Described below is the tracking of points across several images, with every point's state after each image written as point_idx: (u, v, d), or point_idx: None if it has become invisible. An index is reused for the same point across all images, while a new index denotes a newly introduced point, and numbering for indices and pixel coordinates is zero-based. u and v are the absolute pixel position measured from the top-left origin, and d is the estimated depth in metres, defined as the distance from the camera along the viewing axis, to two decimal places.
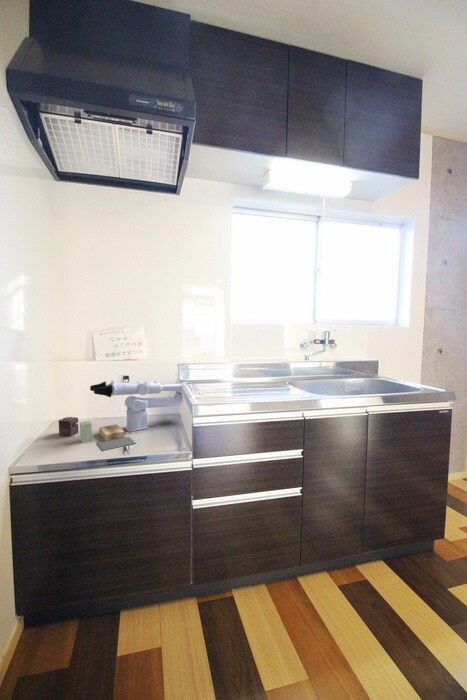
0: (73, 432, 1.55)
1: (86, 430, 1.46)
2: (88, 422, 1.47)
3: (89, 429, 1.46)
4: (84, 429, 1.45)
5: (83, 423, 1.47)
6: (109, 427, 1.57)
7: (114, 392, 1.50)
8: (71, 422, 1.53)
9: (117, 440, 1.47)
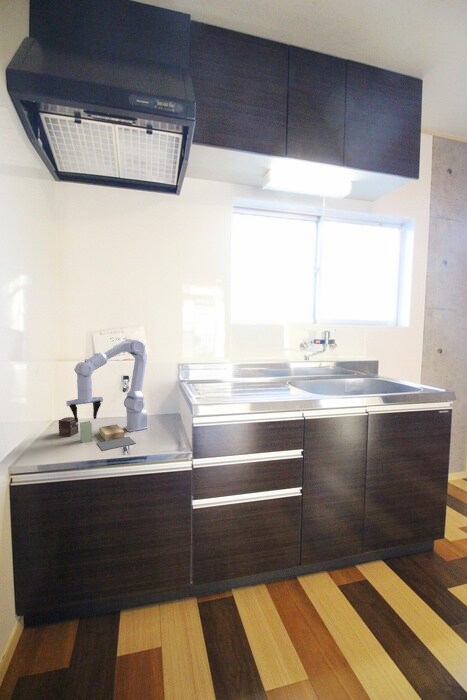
0: (73, 432, 1.55)
1: (86, 430, 1.46)
2: (88, 422, 1.47)
3: (89, 429, 1.46)
4: (84, 429, 1.45)
5: (83, 423, 1.47)
6: (109, 427, 1.57)
7: None
8: (71, 422, 1.53)
9: (117, 440, 1.47)
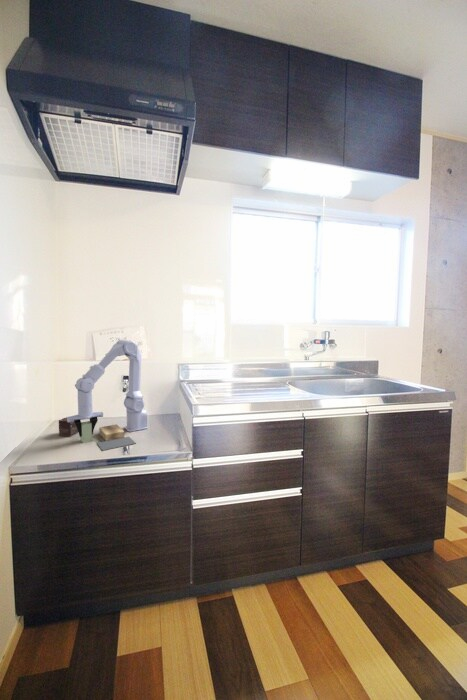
0: (73, 432, 1.55)
1: (86, 430, 1.46)
2: (88, 422, 1.47)
3: (89, 429, 1.46)
4: (84, 429, 1.45)
5: (83, 423, 1.47)
6: (109, 427, 1.57)
7: None
8: (71, 422, 1.53)
9: (117, 440, 1.47)
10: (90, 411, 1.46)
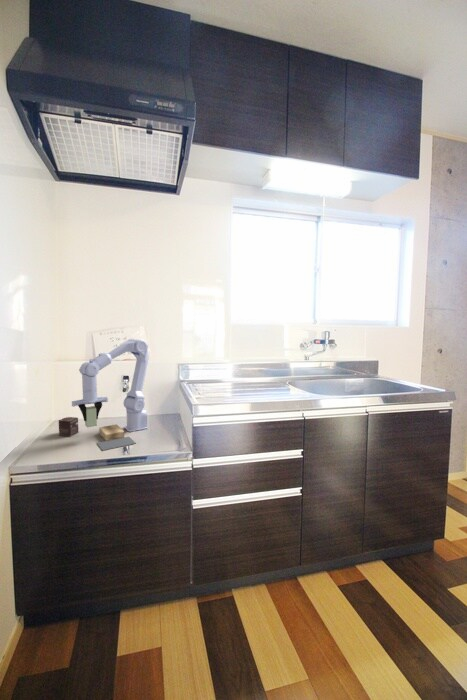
0: (73, 432, 1.55)
1: (91, 414, 1.45)
2: (93, 407, 1.47)
3: (93, 413, 1.46)
4: (88, 414, 1.45)
5: (88, 408, 1.46)
6: (109, 427, 1.57)
7: None
8: (71, 422, 1.53)
9: (117, 440, 1.47)
10: (95, 396, 1.45)
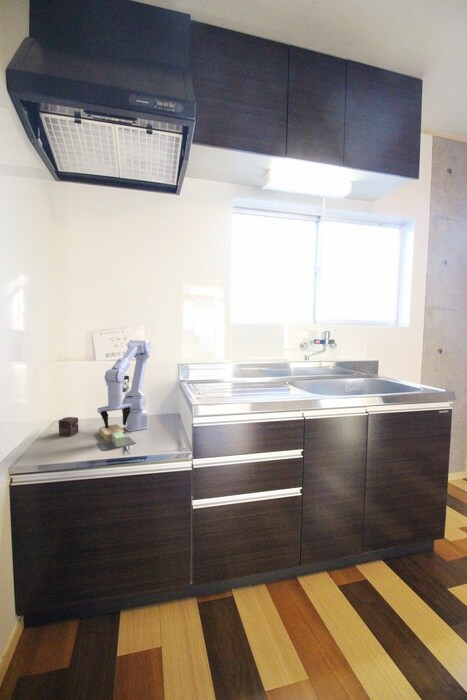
0: (73, 432, 1.55)
1: None
2: (123, 442, 1.41)
3: None
4: None
5: (118, 442, 1.40)
6: (109, 427, 1.57)
7: None
8: (71, 422, 1.53)
9: None
10: (120, 402, 1.46)
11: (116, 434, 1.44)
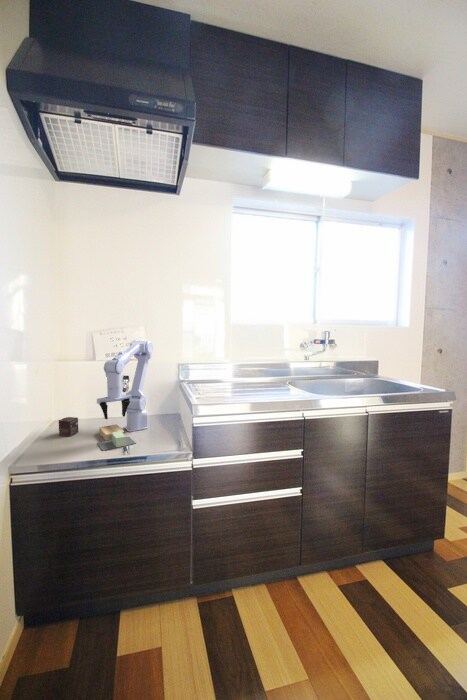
0: (73, 432, 1.55)
1: None
2: (123, 442, 1.41)
3: None
4: None
5: (118, 442, 1.40)
6: (109, 427, 1.57)
7: None
8: (71, 422, 1.53)
9: None
10: (119, 393, 1.46)
11: (116, 434, 1.44)
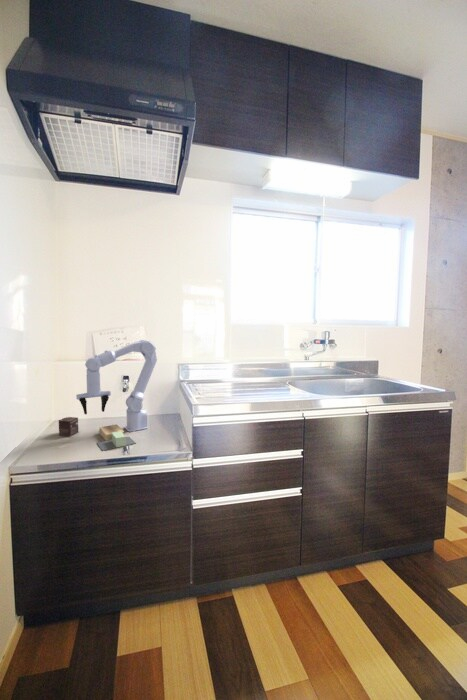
0: (73, 432, 1.55)
1: None
2: (123, 442, 1.41)
3: None
4: None
5: (118, 442, 1.40)
6: (109, 427, 1.57)
7: None
8: (71, 422, 1.53)
9: None
10: (98, 389, 1.53)
11: (116, 434, 1.44)
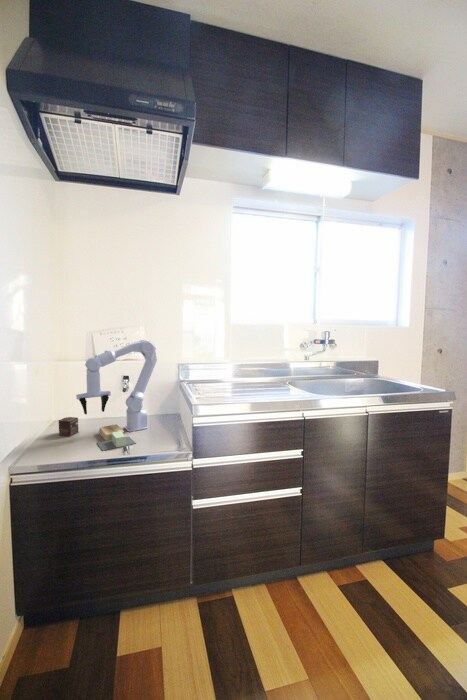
0: (73, 432, 1.55)
1: None
2: (123, 442, 1.41)
3: None
4: None
5: (118, 442, 1.40)
6: (109, 427, 1.57)
7: None
8: (71, 422, 1.53)
9: None
10: (98, 389, 1.53)
11: (116, 434, 1.44)
